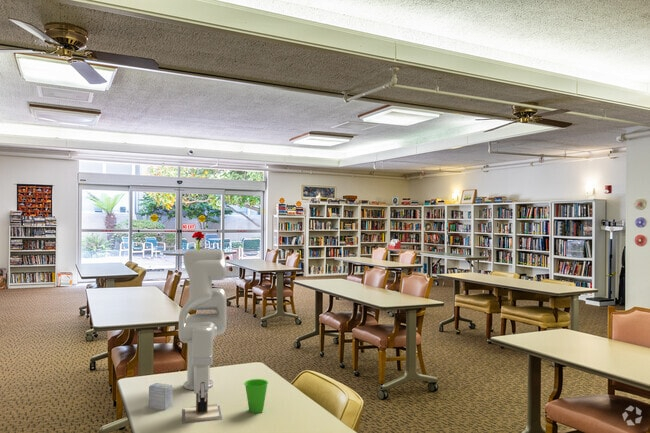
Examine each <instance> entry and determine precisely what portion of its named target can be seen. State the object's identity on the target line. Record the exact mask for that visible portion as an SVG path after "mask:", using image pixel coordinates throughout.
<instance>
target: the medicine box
mask: <svg viewBox="0 0 650 433" xmlns="http://www.w3.org/2000/svg"><path fill="white" fill-rule="evenodd" d="M171 407H173V385H172V384H169V383H168V384H167V383H160V382H155V383H152V384H151V385H149V386H148V408H149V409H150V408H151V409H157V410H163V411H167V410H168V409H170V408H171Z"/></svg>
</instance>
